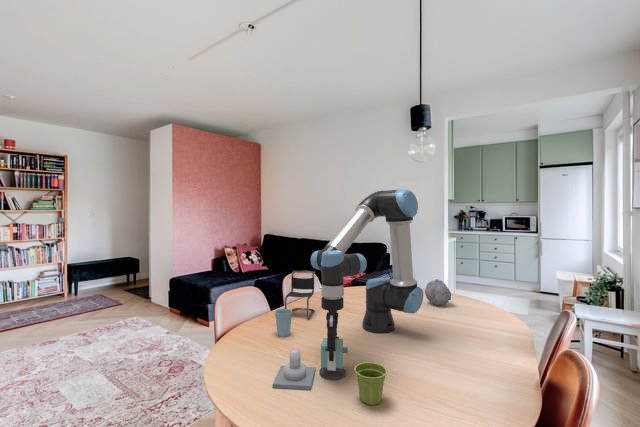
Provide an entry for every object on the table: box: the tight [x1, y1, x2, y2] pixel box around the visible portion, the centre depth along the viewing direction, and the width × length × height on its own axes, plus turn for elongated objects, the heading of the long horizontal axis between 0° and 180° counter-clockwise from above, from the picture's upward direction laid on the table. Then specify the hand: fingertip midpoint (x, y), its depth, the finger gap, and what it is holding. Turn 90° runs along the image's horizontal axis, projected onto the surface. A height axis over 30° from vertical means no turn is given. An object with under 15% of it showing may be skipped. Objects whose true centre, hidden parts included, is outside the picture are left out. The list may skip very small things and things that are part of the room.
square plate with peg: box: [272, 348, 316, 391], centre depth 104 cm, size 12×12×9 cm
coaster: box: [318, 366, 347, 381], centre depth 107 cm, size 9×9×1 cm
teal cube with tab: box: [320, 337, 349, 368], centre depth 107 cm, size 9×7×7 cm
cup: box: [274, 308, 293, 338], centre depth 142 cm, size 8×8×10 cm
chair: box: [284, 270, 316, 320], centre depth 170 cm, size 13×17×22 cm
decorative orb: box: [424, 278, 452, 306], centre depth 187 cm, size 15×14×15 cm
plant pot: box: [353, 361, 388, 406], centre depth 92 cm, size 9×9×9 cm
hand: (332, 364), depth 107 cm, fingers closed on teal cube with tab, 7 cm apart
